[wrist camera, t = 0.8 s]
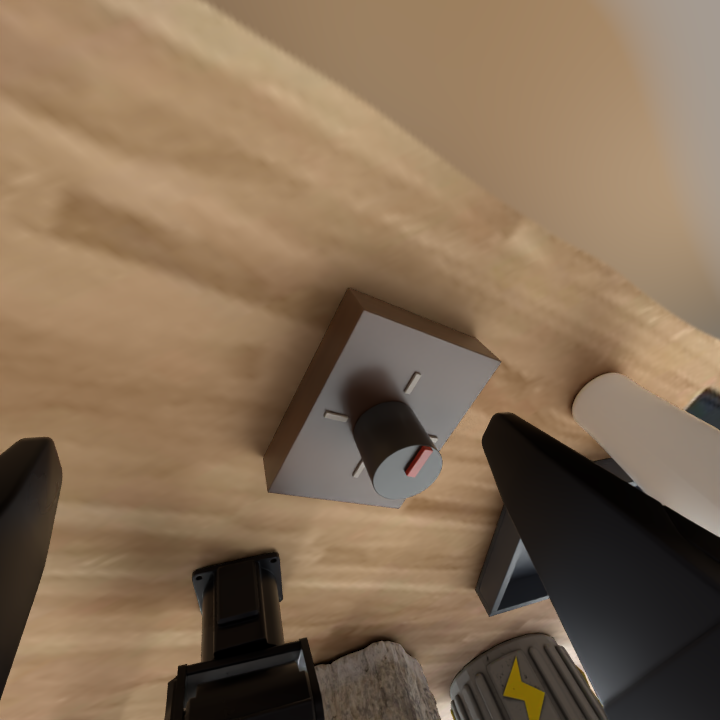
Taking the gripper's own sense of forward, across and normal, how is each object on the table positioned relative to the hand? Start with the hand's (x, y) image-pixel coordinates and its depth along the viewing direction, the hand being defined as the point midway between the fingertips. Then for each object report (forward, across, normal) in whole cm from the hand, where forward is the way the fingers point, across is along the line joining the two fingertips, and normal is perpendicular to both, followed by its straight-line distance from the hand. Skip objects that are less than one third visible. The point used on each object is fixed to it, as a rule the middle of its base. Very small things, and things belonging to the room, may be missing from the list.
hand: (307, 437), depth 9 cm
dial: (+11, -8, +11) cm, 17 cm away
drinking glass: (+14, -28, +12) cm, 33 cm away
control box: (+14, -8, +11) cm, 19 cm away
